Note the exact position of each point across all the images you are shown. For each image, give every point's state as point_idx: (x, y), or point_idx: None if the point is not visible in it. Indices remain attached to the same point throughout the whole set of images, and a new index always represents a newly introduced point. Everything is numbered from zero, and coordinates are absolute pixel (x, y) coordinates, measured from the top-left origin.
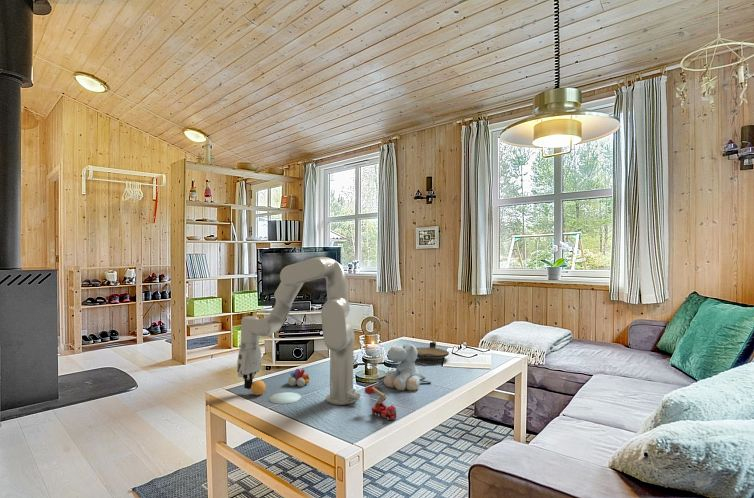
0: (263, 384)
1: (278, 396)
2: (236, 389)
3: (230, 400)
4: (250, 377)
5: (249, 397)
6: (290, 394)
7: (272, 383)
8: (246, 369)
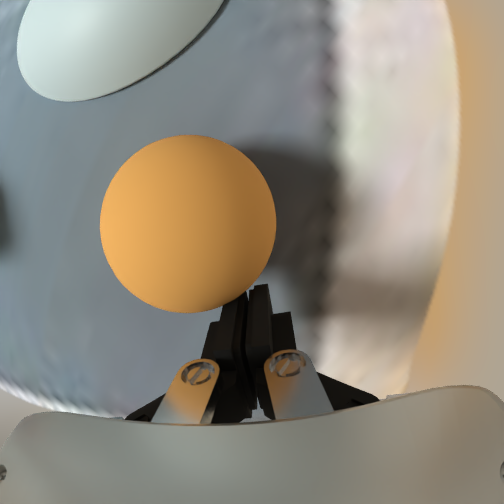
0: (135, 162)
1: (116, 31)
2: None
3: (425, 256)
4: (232, 388)
5: (301, 200)
6: (45, 33)
7: (43, 329)
8: (488, 475)
